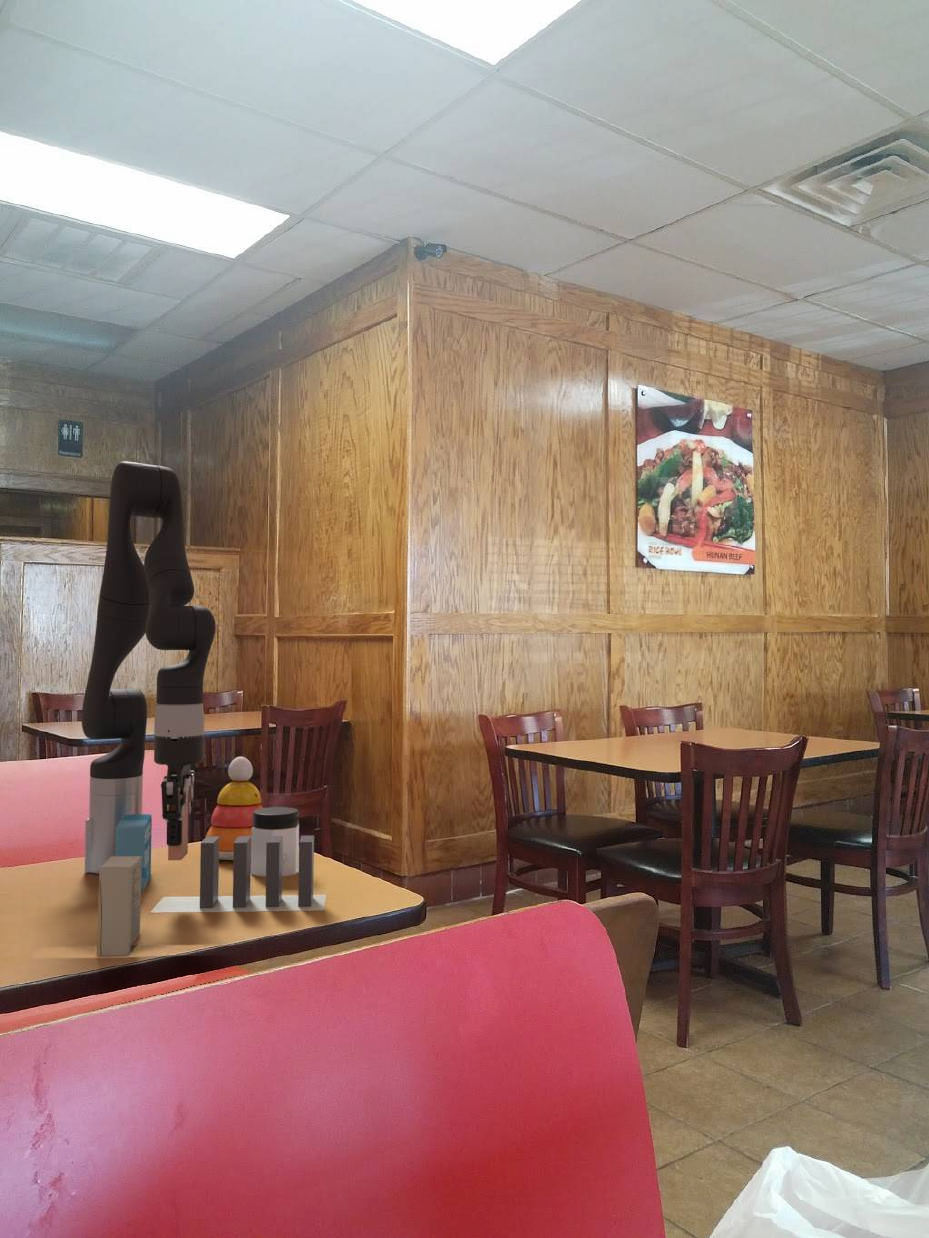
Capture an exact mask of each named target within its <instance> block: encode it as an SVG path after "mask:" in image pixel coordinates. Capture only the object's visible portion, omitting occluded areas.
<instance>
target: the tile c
mask: <svg viewBox="0 0 929 1238" xmlns="http://www.w3.org/2000/svg"><path fill="white" fill-rule="evenodd" d="M232 861H233V862H232V863H233V864H232V865H233V867H232V869H233V871H232V873H233V874H232V896H233V908H246V906H247V904H248V902H249V900H250V896H251V836H238V837H237V839H236V840H235V842H234V857H233V860H232Z"/></svg>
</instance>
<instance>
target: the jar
mask: <svg viewBox="0 0 929 1238" xmlns="http://www.w3.org/2000/svg"><path fill="white" fill-rule="evenodd" d="M299 820H300V811H299V809H297V808H295V807H294V808H293V807H287V806H286V807H285V806H271V807H269V806H268V807H263V808H261V809H257V810H254V811H253V828H252V842H251V873H250V876H251V875H252V876H257V877H258V876H259V877H263V878H266V842H267V841H268V839H269V837H270V836H283V849H282V877H285V876H286V877H287V876H294V875H297V873H298V874H299V841H300V830H299V829H300V823H299Z"/></svg>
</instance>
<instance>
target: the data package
mask: <svg viewBox="0 0 929 1238" xmlns="http://www.w3.org/2000/svg"><path fill="white" fill-rule="evenodd" d="M152 818H153V817H152V814H151V813H146V814H145V813H144V814H143V813H142V814H137V815H124V817H123V818H122V819H121V821H120V822H119V824H118V825H117V828H116V850H115V856H142V878H141V892H144V891H145V889H146V886H147V884H148V882H149V880H150V877H151V874H152V830H153V829H152V826H153V824H152V822H153V821H152Z"/></svg>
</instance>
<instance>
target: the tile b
mask: <svg viewBox="0 0 929 1238" xmlns="http://www.w3.org/2000/svg"><path fill="white" fill-rule="evenodd" d="M219 863H220V859H219V836H209V837H206V836H205V838H203V839H202V841H201V842H200V864H199V867H200V868H199V871H200V872H199V877H200V878H199V896H200V908H213V907H214V906H215V904H216V902H217V901H218V896H219V879H220V878H219V875H220V873H219V871H220V870H219V869H220V868H219V867H220V866H219V865H220V864H219Z"/></svg>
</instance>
